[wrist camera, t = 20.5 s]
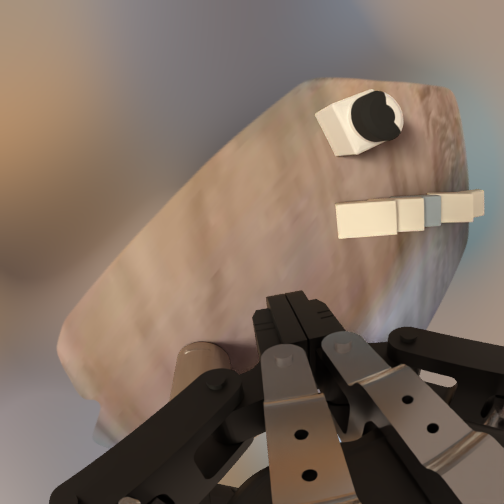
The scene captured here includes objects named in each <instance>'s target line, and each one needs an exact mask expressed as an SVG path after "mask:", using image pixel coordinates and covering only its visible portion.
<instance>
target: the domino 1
mask: <svg viewBox="0 0 504 504" xmlns="http://www.w3.org/2000/svg"><path fill="white" fill-rule="evenodd" d="M335 205H336V216H337V227H338V238H339V239H341V238H354V237H368V236H382V235H396V234H397V219H396V201H395V200H394V199H384V200H369V201H355V202H342V203H335Z"/></svg>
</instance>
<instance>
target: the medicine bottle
mask: <svg viewBox="0 0 504 504" xmlns="http://www.w3.org/2000/svg"><path fill="white" fill-rule="evenodd" d="M315 117H316V118H317V120H318V122H319V124H320V126H321V128H322V130H323V132H324V134H325V136H326V138H327V140H328V142H329V144H330V146H331V148H332V150H333V152H334V154H335V156H337V157H338V156H349V155H358V154H360V153H362V152H364V151H366V150H368V149H370V148H373V147H375V146H377V145H379V144H381V143H383V142H385V141H390V140H393V139H395V138H396V137H398V136H399V134H400V133H401V131H402V128H403V114H402V111H401V108H400V106H399V105H398V103H397V102H396V101H395V99H394V98H393V97H391V96H390V95H389V94H387V93H385V92H381V91H374V90H373V89H370V90H367V91H364V92H362V93H359V94H356V95H353V96H351V97H348V98H345V99H343V100H340V101H338V102H335V103H333V104H331V105H329V106H327V107H326V108H324V109H322V110H320V111H318V112H317V113H315Z"/></svg>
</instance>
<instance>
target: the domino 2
mask: <svg viewBox="0 0 504 504" xmlns="http://www.w3.org/2000/svg"><path fill="white" fill-rule="evenodd" d="M384 199H394V200H395V201H396V219H397V232H405V231H424V198H422V197H404V198H382V199H367V200H368V201H369V200H384Z"/></svg>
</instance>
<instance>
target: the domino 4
mask: <svg viewBox="0 0 504 504" xmlns="http://www.w3.org/2000/svg"><path fill="white" fill-rule="evenodd" d="M427 195H439V196H441V223H447V222H473V194H472V193H470V192H445V193H427Z"/></svg>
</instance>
